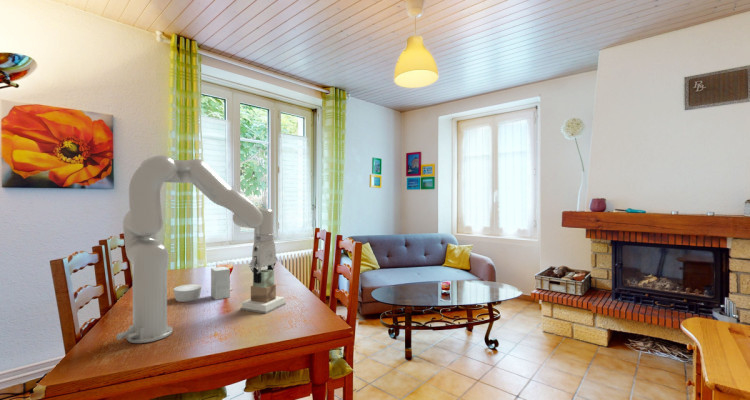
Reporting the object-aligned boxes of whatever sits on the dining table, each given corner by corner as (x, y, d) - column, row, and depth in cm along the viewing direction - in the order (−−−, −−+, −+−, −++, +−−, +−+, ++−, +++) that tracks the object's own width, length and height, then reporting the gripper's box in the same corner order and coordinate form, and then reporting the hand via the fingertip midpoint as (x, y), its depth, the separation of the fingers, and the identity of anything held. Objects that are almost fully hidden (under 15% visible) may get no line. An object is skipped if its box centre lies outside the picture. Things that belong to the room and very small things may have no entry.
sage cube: (264, 287, 139) (264, 273, 139) (252, 286, 141) (253, 272, 141) (274, 284, 145) (274, 270, 145) (262, 283, 147) (262, 269, 147)
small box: (230, 297, 156) (230, 269, 156) (215, 300, 152) (215, 270, 152) (225, 293, 162) (225, 266, 162) (210, 295, 158) (210, 267, 158)
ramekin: (193, 303, 148) (193, 290, 148) (167, 302, 148) (167, 290, 148) (206, 295, 159) (206, 284, 159) (182, 295, 160) (182, 283, 159)
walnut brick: (266, 302, 139) (266, 288, 139) (250, 300, 142) (250, 286, 142) (275, 298, 144) (275, 284, 144) (260, 296, 147) (260, 282, 147)
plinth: (266, 313, 135) (266, 306, 135) (240, 309, 140) (240, 302, 140) (285, 304, 147) (285, 297, 147) (261, 300, 151) (261, 293, 151)
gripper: (256, 241, 133) (256, 286, 134) (284, 236, 149) (284, 276, 150) (241, 240, 136) (241, 284, 136) (270, 235, 152) (270, 275, 152)
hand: (263, 280), depth 143 cm, fingers open, 7 cm apart
